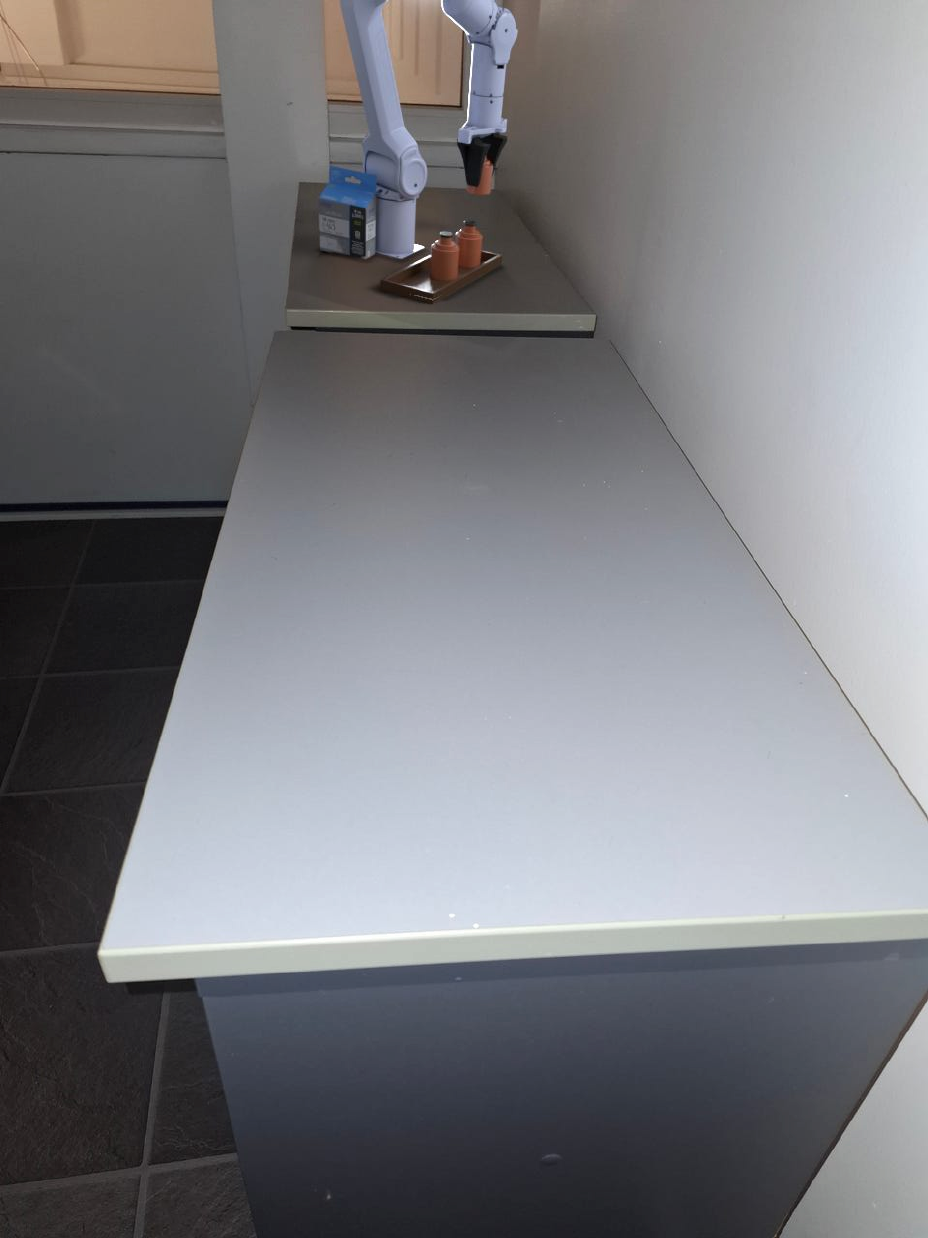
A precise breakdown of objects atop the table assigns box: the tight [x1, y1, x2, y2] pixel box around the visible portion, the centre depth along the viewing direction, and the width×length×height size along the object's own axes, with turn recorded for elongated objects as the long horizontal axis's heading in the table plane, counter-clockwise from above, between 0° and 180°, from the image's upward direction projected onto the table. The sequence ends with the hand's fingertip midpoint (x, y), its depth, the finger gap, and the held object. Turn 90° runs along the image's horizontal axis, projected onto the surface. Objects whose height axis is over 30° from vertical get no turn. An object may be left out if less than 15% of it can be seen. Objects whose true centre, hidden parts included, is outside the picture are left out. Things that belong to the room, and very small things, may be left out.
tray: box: [379, 249, 503, 305], centre depth 136 cm, size 23×9×2 cm, turn 152°
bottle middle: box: [430, 231, 459, 281], centre depth 134 cm, size 4×4×6 cm
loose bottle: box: [465, 157, 493, 196], centre depth 150 cm, size 4×4×6 cm
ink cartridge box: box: [317, 165, 377, 260], centre depth 139 cm, size 9×4×12 cm, turn 67°
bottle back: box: [454, 219, 484, 268], centre depth 140 cm, size 4×4×6 cm
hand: (478, 182), depth 151 cm, fingers closed on loose bottle, 4 cm apart
